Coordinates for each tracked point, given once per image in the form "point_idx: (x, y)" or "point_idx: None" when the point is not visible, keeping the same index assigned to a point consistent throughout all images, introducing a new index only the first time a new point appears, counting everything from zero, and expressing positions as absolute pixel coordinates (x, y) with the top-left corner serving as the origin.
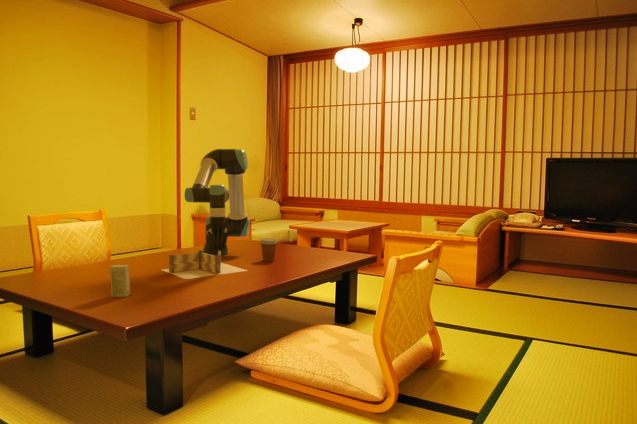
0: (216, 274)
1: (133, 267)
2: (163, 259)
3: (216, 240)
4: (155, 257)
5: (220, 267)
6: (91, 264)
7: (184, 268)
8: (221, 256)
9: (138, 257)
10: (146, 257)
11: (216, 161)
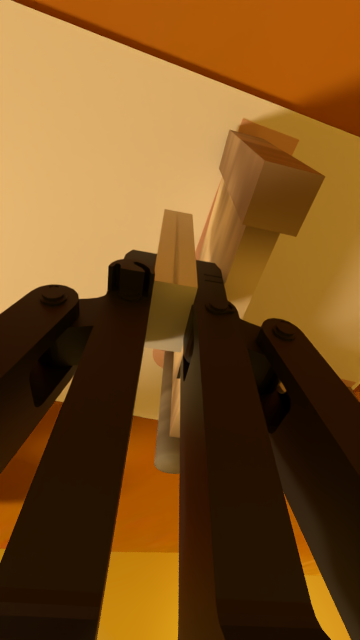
0: (278, 132)
1: (287, 503)
2: (130, 516)
3: (270, 484)
4: (127, 533)
5: (237, 135)
6: (299, 552)
7: (282, 384)
8: (134, 251)
9: (160, 547)
10: (145, 541)
11: None
